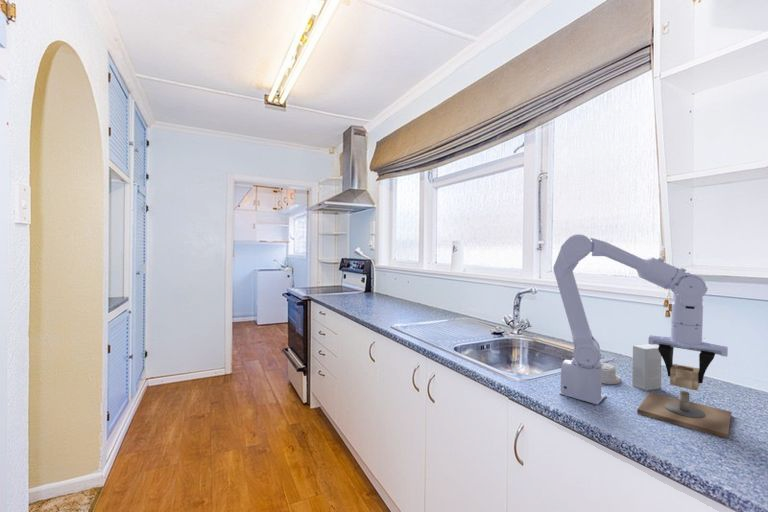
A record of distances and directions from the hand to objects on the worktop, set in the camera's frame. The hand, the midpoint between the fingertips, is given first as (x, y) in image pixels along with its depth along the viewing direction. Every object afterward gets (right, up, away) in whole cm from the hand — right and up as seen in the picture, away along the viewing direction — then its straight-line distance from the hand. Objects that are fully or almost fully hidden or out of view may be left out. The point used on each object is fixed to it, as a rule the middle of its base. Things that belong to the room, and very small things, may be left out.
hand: (685, 378), depth 87 cm
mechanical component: (-6, -9, +24) cm, 26 cm away
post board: (0, -9, 0) cm, 9 cm away
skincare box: (+3, -9, +17) cm, 19 cm away
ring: (0, -1, 0) cm, 1 cm away
